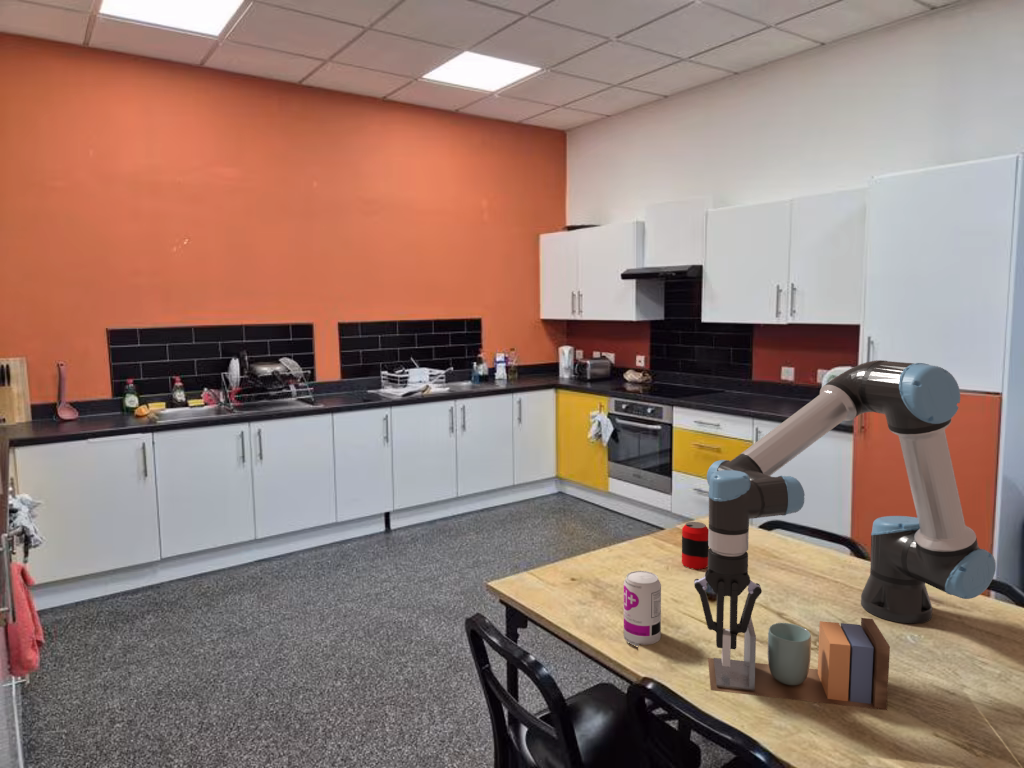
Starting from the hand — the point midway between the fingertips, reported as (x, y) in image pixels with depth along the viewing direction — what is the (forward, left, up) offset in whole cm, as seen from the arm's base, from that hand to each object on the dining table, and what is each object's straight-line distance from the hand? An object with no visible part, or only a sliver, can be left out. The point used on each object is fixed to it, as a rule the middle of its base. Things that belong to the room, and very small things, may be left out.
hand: (725, 662), depth 133 cm
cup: (-12, -1, -3) cm, 12 cm away
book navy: (-24, 0, -3) cm, 24 cm away
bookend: (-1, 0, -2) cm, 3 cm away
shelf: (-12, 0, -4) cm, 13 cm away
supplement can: (+17, -13, -4) cm, 22 cm away
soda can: (+4, -61, -4) cm, 61 cm away
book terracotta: (-20, 0, -3) cm, 20 cm away
